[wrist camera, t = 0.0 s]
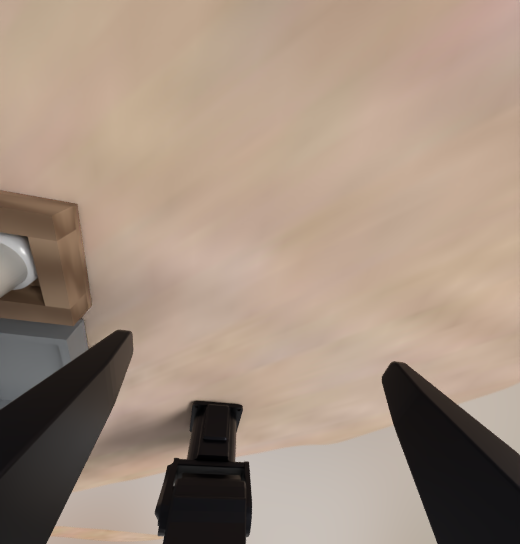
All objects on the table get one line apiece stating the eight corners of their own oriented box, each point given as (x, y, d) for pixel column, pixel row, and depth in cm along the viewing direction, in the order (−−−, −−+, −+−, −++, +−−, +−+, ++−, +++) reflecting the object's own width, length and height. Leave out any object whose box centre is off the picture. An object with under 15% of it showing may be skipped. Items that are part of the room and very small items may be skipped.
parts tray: (97, 404, 32) (85, 426, 30) (-28, 394, 30) (-52, 417, 28) (83, 319, 26) (66, 339, 23) (-79, 300, 24) (-116, 320, 21)
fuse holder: (91, 305, 25) (73, 326, 22) (-25, 290, 23) (-59, 311, 21) (77, 204, 20) (51, 215, 17) (-71, 177, 19) (-123, 186, 16)
